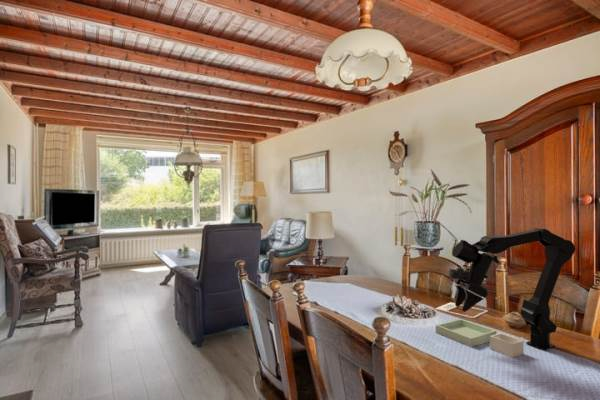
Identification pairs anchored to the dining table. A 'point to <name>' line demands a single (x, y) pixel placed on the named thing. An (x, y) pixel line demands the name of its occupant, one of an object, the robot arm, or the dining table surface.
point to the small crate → (506, 345)
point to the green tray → (465, 332)
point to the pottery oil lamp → (514, 319)
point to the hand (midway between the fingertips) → (459, 308)
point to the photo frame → (451, 306)
